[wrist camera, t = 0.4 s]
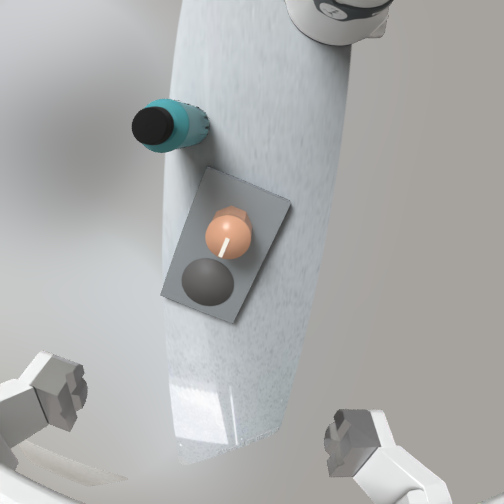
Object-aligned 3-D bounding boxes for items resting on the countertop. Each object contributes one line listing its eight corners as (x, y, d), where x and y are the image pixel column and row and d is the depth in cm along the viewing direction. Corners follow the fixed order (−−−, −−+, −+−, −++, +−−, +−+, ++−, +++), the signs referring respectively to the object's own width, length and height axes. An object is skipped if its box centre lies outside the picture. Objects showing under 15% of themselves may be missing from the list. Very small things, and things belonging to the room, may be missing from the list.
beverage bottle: (219, 132, 47) (194, 134, 28) (183, 154, 48) (138, 170, 30) (199, 98, 45) (161, 80, 26) (163, 120, 46) (108, 118, 28)
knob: (220, 199, 49) (214, 209, 43) (258, 215, 50) (258, 227, 44) (205, 235, 51) (198, 249, 45) (242, 250, 52) (240, 266, 46)
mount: (208, 166, 49) (201, 171, 43) (289, 200, 51) (293, 209, 45) (163, 289, 57) (154, 306, 52) (233, 317, 59) (230, 336, 54)
